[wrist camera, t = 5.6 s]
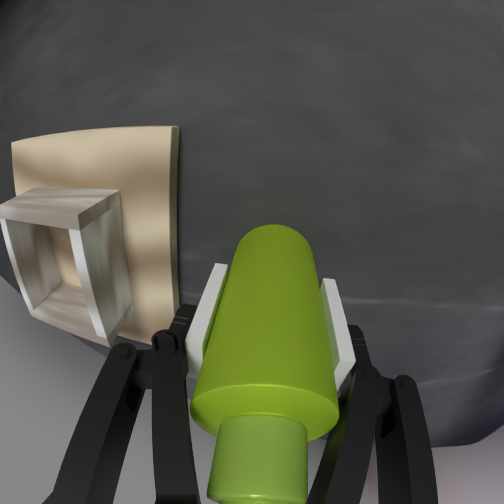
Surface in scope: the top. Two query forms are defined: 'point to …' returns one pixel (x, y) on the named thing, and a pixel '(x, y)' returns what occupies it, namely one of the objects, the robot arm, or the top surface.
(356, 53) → the top surface
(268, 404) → the soap dispenser
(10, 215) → the dispenser caddy
